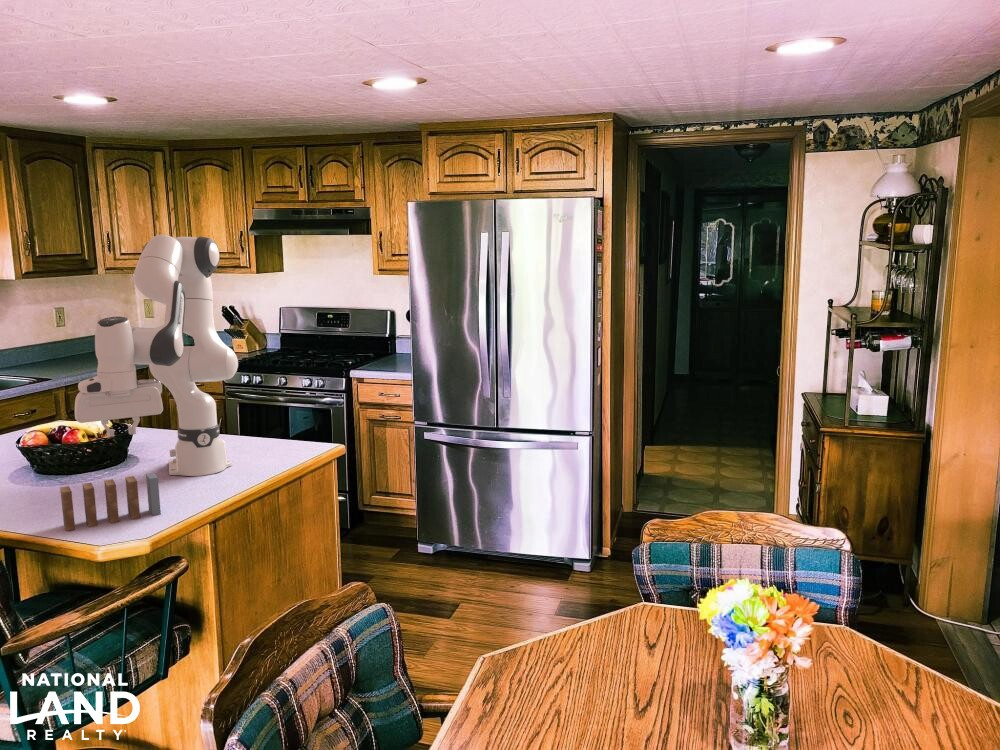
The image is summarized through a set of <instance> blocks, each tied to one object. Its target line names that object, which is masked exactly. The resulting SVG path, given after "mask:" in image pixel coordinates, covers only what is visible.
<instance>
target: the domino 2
mask: <svg viewBox="0 0 1000 750" xmlns="http://www.w3.org/2000/svg"><path fill="white" fill-rule="evenodd" d="M81 485H82V493H83V494H82V495H83V505H84V514H85V522H86V525H87V526H88V528H94V527H97V526H98V516H97V515H98V514H97V505H96V496H95V487H94V485H93V484H92V482H86V483H82V484H81Z"/></svg>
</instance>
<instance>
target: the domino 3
mask: <svg viewBox="0 0 1000 750" xmlns="http://www.w3.org/2000/svg"><path fill="white" fill-rule="evenodd" d="M103 481H104V482H103V483H104V493H105V494H104V495H105V503H106V504H105V506H106V513H107V515H106V516H107V519H108V521H109V523H110V524H114V523H118V522H120V515H119V506H118V504H119V503H118V493H117V484H116V481H114V479H113V478H111V479H105V480H103Z"/></svg>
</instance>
